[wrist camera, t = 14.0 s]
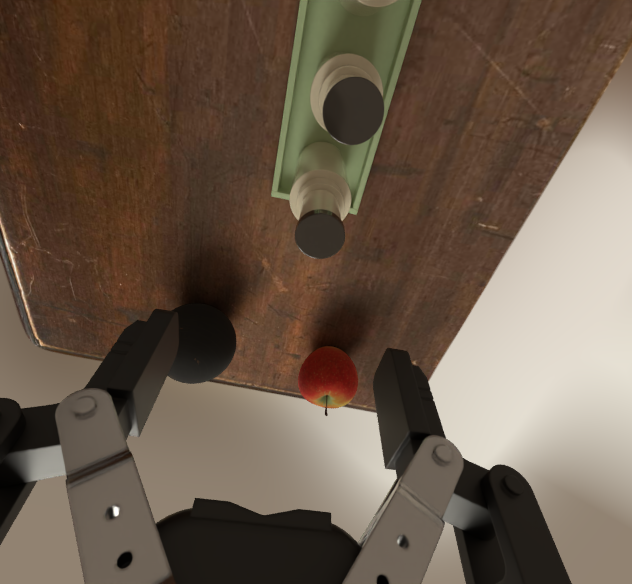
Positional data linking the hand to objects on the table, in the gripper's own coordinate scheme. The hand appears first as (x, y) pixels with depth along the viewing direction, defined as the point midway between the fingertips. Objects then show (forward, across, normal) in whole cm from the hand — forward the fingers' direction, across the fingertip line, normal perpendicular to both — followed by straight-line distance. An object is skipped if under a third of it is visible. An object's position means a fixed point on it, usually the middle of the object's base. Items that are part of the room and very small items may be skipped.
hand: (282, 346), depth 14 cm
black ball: (+28, +9, +24) cm, 38 cm away
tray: (+28, -2, -7) cm, 28 cm away
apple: (+28, -9, +27) cm, 40 cm away
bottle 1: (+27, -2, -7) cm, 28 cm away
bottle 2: (+27, -2, +1) cm, 27 cm away
